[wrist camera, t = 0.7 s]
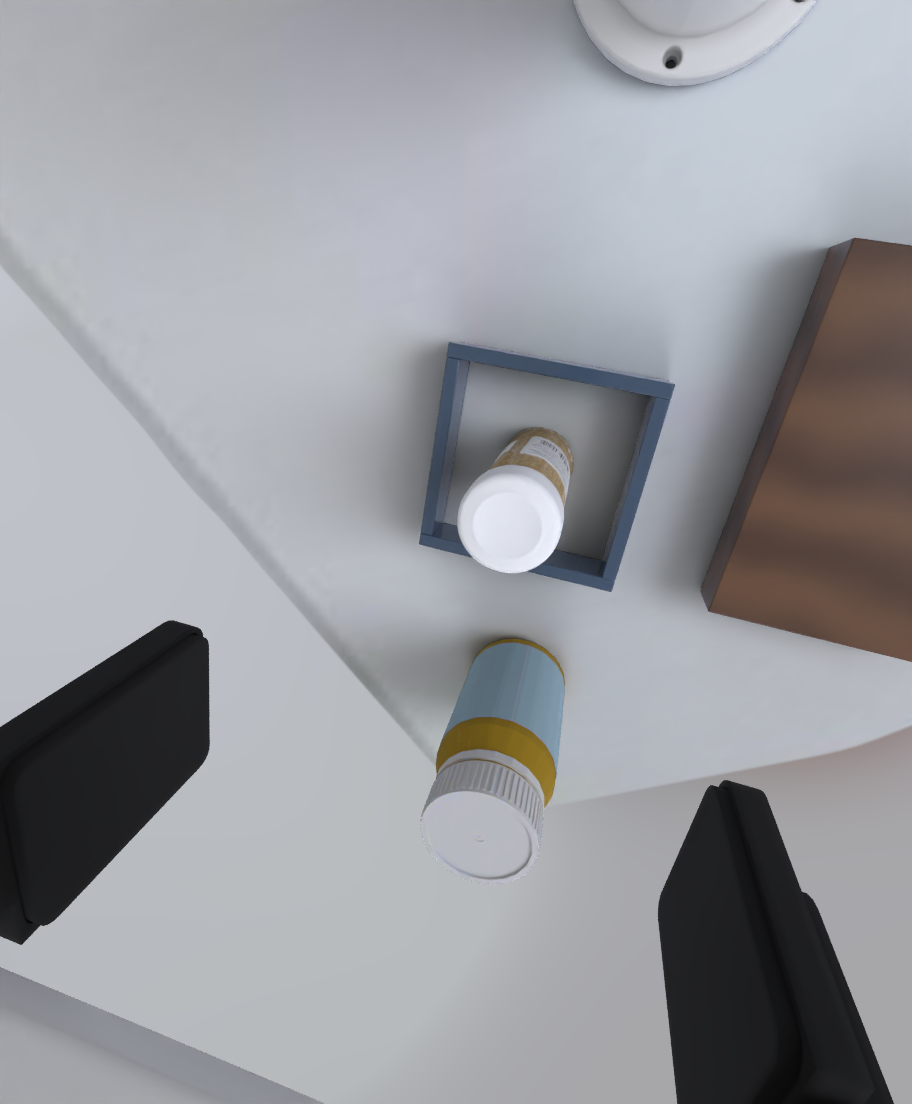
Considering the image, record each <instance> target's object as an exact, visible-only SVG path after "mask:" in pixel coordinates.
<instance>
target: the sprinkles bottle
mask: <svg viewBox="0 0 912 1104" xmlns="http://www.w3.org/2000/svg"><path fill="white" fill-rule="evenodd" d="M572 470H573V455H572V452H571V450H570V447H569V445H568V444H567V442H566V441H565V439H564V438H563V437H561V436H560V435H559V434H557V433H556V432H554V431H552V430H549V429H545V428H529V429H526V430H524V431H522V432H520V433H518V434H517V435H516V436H515V437H514V438H513V439H512V440H511V441H510V442H509V443H508V444H507V446H506V448H505V449H504V450H503V451H502V453H501V454H500V455H499V456H498V458H497V459H496V460H495V462H494V463H493V465H492V467H491V468H490V469H489V470H488V471H487V472H485V473H484V474H482V475H481V476H480V477H478V478H477V479H476V481H475V482H474V483H473V484H472V485H471V486H470V488H469V489H468V491H467V492H466V493H465V495H464V497H463V499H462V501H461V503H460V506H459V509H458V515H457V526H458V533H459V536H460V539H461V541H462V543H463V545H464V547H465V549H466V550H467V551H468V553H469V554H470V555H471V556H472V557H473V558H474V559H475V560H476V561H477V562H479V563H480V564H482V565H483V566H485V567H487V568H489V569H492V570H495V571H498V572H503V573H520V572H524V571H528V570H531V569H533V568H535V567H537V566H539V565H540V564H541V563H543V562H544V561H545V560H546V559H547V558H548V557H549V556H550V555H551V554H552V552H553V551H554V549H555V548H556V546H557V544H558V541H559V539H560V535H561V532H562V528H563V522H564V505H565V501H566V496H567V491H568V486H569V481H570V475H571V474H572Z"/></svg>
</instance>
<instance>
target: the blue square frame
mask: <svg viewBox="0 0 912 1104" xmlns="http://www.w3.org/2000/svg"><path fill="white" fill-rule="evenodd" d="M470 361H472V362H477V363H482V364H488V365H493V366H498V367H503V368H509V369H514V370H519V371H524V372H529V373H535V374H540V375H545V376H550V377H556V378H561V379H566V380H571V381H576V382H582V383H587V384H592V385H597V386H603V387H608V388H613V389H618V390H623V391H629V392H634V393H639V394H644V395H650V398H649V401H648V404H647V408H646V411H645V415H644V418H643V422H642V425H641V428H640V432H639V435H638V439H637V442H636V446H635V449H634V452H633V456H632V459H631V463H630V466H629V470H628V473H627V476H626V480H625V483H624V487H623V490H622V494H621V497H620V500H619V504H618V507H617V511H616V514H615V518H614V521H613V524H612V528H611V531H610V535H609V538H608V541H607V545H606V548H605V552H604V555H603V559H602V561H601V560H596V559H592V558H588V557H584V556H580V555H576V554H572V553H567V552H563V551H559V550H555V549H554V551H553V552H552V554H551V555H550V556H549V557H548V558H547V559H546V560H545V561H544V562H543V563H541V564H540V565H539V566H537V567H535V568H533V569H531V570H528V572H532V573H536V574H540V575H544V576H548V577H552V578H556V579H560V580H564V581H569V582H573V583H577V584H581V585H585V586H589V587H593V588H597V589H601V590H605V591H609V592H611V591H612V589H613V585H614V582H615V579H616V576H617V573H618V569H619V566H620V563H621V559H622V556H623V553H624V550H625V546H626V543H627V540H628V537H629V533H630V530H631V527H632V524H633V520H634V517H635V514H636V511H637V507H638V504H639V501H640V498H641V494H642V491H643V488H644V485H645V481H646V478H647V475H648V472H649V468H650V465H651V462H652V458H653V455H654V452H655V449H656V445H657V442H658V439H659V436H660V432H661V429H662V426H663V423H664V419H665V416H666V413H667V410H668V406H669V403H670V399H671V397H672V393H673V390H674V387H675V384H673V383H672V382H670V381H669V380H664V379H658V378H653V377H648V376H642V375H637V374H632V373H626V372H621V371H615V370H610V369H605V368H599V367H594V366H589V365H583V364H578V363H572V362H567V361H562V360H556V359H551V358H546V357H540V356H535V355H530V354H524V353H519V352H513V351H508V350H503V349H497V348H492V347H487V346H481V345H476V344H470V343H465V342H449V344H448V351H447V359H446V366H445V373H444V379H443V386H442V393H441V400H440V406H439V413H438V420H437V427H436V433H435V440H434V447H433V453H432V460H431V467H430V474H429V480H428V487H427V494H426V501H425V507H424V514H423V521H422V528H421V534H420V541H419V544H420V545H424V546H428V547H432V548H436V549H440V550H444V551H448V552H452V553H456V554H460V555H464V556H468V557H472V556H471V555H470V554H469V553H468V551H467V550H466V549H465V547H464V545H463V543H462V541H461V539H460V536H459V533H458V526H455V525H451V524H447V523H443V522H444V517H445V510H446V504H447V498H448V492H449V486H450V480H451V474H452V468H453V462H454V456H455V450H456V444H457V437H458V431H459V425H460V419H461V413H462V407H463V401H464V395H465V389H466V383H467V377H468V371H469V364H470ZM472 558H473V557H472Z"/></svg>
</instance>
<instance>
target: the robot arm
mask: <svg viewBox="0 0 912 1104" xmlns="http://www.w3.org/2000/svg"><path fill="white" fill-rule="evenodd" d="M816 2H817V0H801V2H800V3H797V2H795V1H793V0H574V4H575V7H576V11H577V14H578V16H579V18H580V20H581V22H582V24H583V26H584V28H585V30H586V32H587V34H588V36H589V38H590V39H591V40H592V42H593V43H594V44H595V45H596V47H597V48H598V49H599V50H600V51H601V53H602V54H603V55H604V56H605V58H606V59H608V60H609V61H610V62H612V63H613V64H614V65H616V66H617V67H618V68H620V69H621V70H622V71H624V72H625V73H627V74H629V75H631V76H634V77H636V78H638V79H641V80H643V81H645V82H649V83H655V84H661V85H667V86H683V85H698V84H701V83H705V82H708V81H712V80H715V79H719V78H722V77H725V76H727V75H729V74H731V73H733V72H735V71H737V70H739V69H741V68H743V67H745V66H747V65H749V64H751V63H753V62H754V61H755V60H757V59H758V58H760V57H761V56H762V55H764V54H765V53H767V52H768V51H769V50H771V49H772V48H773V47H775V46H776V45H778V44H779V43H780V42H781V41H782V40H783V39H784V38H785V37H786V36H787V35H788V34H789V33H790V32H791V31H792V30H793V29H794V28H795V27H796V26H797V25H798V24H799V23H800V22H801V21H802V20H803V19H804V17H805V16H806V15H807V13H808V12H809V11H810V10H811V8H812V7H813V6H814V4H815V3H816ZM668 60H674V61H675V63H676V66H675V67H674V68H672V69H668V68H666V66H665V63H666V62H667V61H668ZM209 739H210V738H209V644H208V640H207V639H206V638H204V637H203V633H202V631H201V629H199V628H197V627H194V626H191V625H187V624H184V623H180V622H177V621H167V622H165V623H163V624H161V625H160V626H158V627H156V628H155V629H153V630H152V631H150V632H149V633H147V634H146V635H144V636H142V637H141V638H139V639H138V640H136V641H135V642H133V643H131V644H130V645H128V646H127V647H125V648H124V649H122V650H121V651H119V652H117V653H116V654H114V655H113V656H111V657H109V658H108V659H106V660H105V661H103V662H102V663H100V664H98V665H97V666H95V667H94V668H92V669H91V670H89V671H87V672H86V673H84V674H83V675H81V676H80V677H78V678H76V679H75V680H73V681H72V682H70V683H69V684H67V685H65V686H64V687H62V688H61V689H59V690H58V691H56V692H54V693H53V694H51V695H50V696H48V697H47V698H45V699H44V700H42V701H40V702H39V703H37V704H36V705H34V706H32V707H31V708H29V709H28V710H26V711H25V712H23V713H22V714H20V715H18V716H17V717H15V718H14V719H12V720H11V721H9V722H7V723H6V724H4V725H3V726H1V727H0V936H1V937H3V938H6V939H8V940H11V941H13V942H16V943H18V944H20V945H22V944H23V943H24V942H25V941H26V940H27V939H28V938H29V937H30V936H31V935H32V934H33V932H34V931H35V930H36V929H37V928H38V927H39V926H40V925H42V926H44V925H48V924H50V923H51V922H53V921H54V920H55V919H56V918H57V917H58V916H59V915H60V914H61V913H62V912H63V911H64V910H65V909H66V908H67V907H68V906H69V905H70V904H71V903H72V902H73V901H74V900H75V898H76V897H77V896H78V895H79V894H80V893H81V892H82V891H83V890H84V889H85V888H86V887H87V886H88V885H89V884H90V883H91V882H92V881H93V880H94V878H95V877H96V876H97V875H98V874H99V873H100V872H101V871H102V870H103V869H104V868H105V867H106V866H107V865H108V863H110V862H111V861H112V859H113V858H114V857H115V856H116V855H117V854H118V853H119V852H120V851H121V850H122V849H123V848H124V847H125V846H126V845H127V844H128V842H129V841H130V840H131V839H132V838H133V837H134V836H135V835H136V834H137V833H138V832H139V831H140V830H141V829H142V828H143V827H144V826H145V824H146V823H147V822H148V821H149V820H150V819H151V818H152V817H153V816H154V815H155V814H156V813H157V812H158V811H159V810H160V809H161V808H162V807H163V806H164V805H165V803H166V802H167V801H168V800H169V799H170V798H171V797H172V796H173V795H174V794H175V793H176V792H177V791H178V790H179V789H180V788H181V786H183V784H184V783H185V782H186V781H187V780H188V779H189V778H190V777H191V776H192V775H193V774H194V773H195V772H196V771H197V770H198V769H199V767H200V766H201V765H202V764H203V762H204V761H205V759H206V757H207V755H208V751H209V746H210V745H209V744H210V740H209ZM658 922H659V931H660V941H661V951H662V961H663V970H664V980H665V989H666V998H667V1009H668V1018H669V1028H670V1036H671V1047H672V1056H673V1066H674V1076H675V1085H676V1094H677V1104H894V1103H893V1100H892V1097H891V1095H890V1092H889V1090H888V1087H887V1085H886V1082H885V1080H884V1077H883V1075H882V1072H881V1070H880V1067H879V1064H878V1062H877V1059H876V1056H875V1054H874V1051H873V1049H872V1046H871V1044H870V1041H869V1038H868V1036H867V1034H866V1031H865V1028H864V1026H863V1023H862V1020H861V1018H860V1016H859V1013H858V1010H857V1008H856V1005H855V1003H854V1000H853V998H852V995H851V992H850V990H849V987H848V985H847V982H846V979H845V977H844V975H843V972H842V969H841V967H840V964H839V962H838V959H837V957H836V954H835V951H834V949H833V946H832V944H831V941H830V938H829V936H828V933H827V931H826V928H825V926H824V923H823V920H822V918H821V915H820V913H819V910H818V908H817V907H816V905H815V903H814V901H813V899H812V898H811V897H810V896H809V895H808V894H807V893H804V892H802V891H801V888H800V886H799V883H798V881H797V878H796V875H795V872H794V870H793V867H792V864H791V862H790V859H789V856H788V854H787V851H786V848H785V845H784V843H783V840H782V837H781V835H780V832H779V830H778V827H777V824H776V821H775V819H774V816H773V813H772V811H771V808H770V805H769V803H768V800H767V797H766V795H765V794H764V792H763V791H761V790H759V789H756V788H752V787H749V786H745V785H742V784H738V783H735V782H731V781H728V780H724V781H723V782H722V783H721V784H720V785H719V787H716V786H713V785H711V786H709V787H708V789H707V790H706V792H705V794H704V797H703V799H702V801H701V804H700V806H699V808H698V810H697V813H696V815H695V817H694V820H693V822H692V824H691V826H690V829H689V831H688V833H687V836H686V838H685V840H684V842H683V845H682V847H681V849H680V851H679V854H678V856H677V858H676V861H675V863H674V865H673V867H672V870H671V872H670V875H669V877H668V879H667V881H666V883H665V886H664V888H663V890H662V893H661V895H660V900H659V906H658ZM0 1104H324V1103H322V1102H320V1101H317V1100H315V1099H313V1098H310V1097H308V1096H306V1095H303V1094H301V1093H298V1092H296V1091H294V1090H292V1089H289V1088H287V1087H284V1086H282V1085H280V1084H277V1083H275V1082H273V1081H270V1080H268V1079H265V1078H263V1077H261V1076H259V1075H256V1074H254V1073H252V1072H249V1071H247V1070H244V1069H242V1068H240V1067H237V1066H235V1065H233V1064H230V1063H228V1062H225V1061H223V1060H221V1059H218V1058H216V1057H214V1056H211V1055H209V1054H207V1053H204V1052H202V1051H199V1050H197V1049H195V1048H192V1047H190V1046H187V1045H185V1044H183V1043H180V1042H178V1041H176V1040H173V1039H171V1038H169V1037H166V1036H164V1035H161V1034H159V1033H157V1032H154V1031H152V1030H150V1029H147V1028H145V1027H142V1026H140V1025H138V1024H135V1023H133V1022H131V1021H128V1020H126V1019H123V1018H121V1017H119V1016H116V1015H114V1014H111V1013H109V1012H107V1011H104V1010H102V1009H99V1008H97V1007H95V1006H92V1005H90V1004H87V1003H85V1002H82V1001H80V1000H78V999H75V998H73V997H71V996H68V995H65V994H63V993H61V992H58V991H56V990H54V989H51V988H49V987H46V986H44V985H42V984H39V983H37V982H34V981H32V980H30V979H27V978H25V977H22V976H20V975H17V974H15V973H13V972H10V971H8V970H5V969H3V968H1V967H0Z"/></svg>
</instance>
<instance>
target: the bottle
mask: <svg viewBox="0 0 912 1104" xmlns="http://www.w3.org/2000/svg"><path fill="white" fill-rule="evenodd" d="M564 695H565V680H564V674H563V671H562V669H561V667H560V665H559V663H558V662H557V660H556V659H555V658H554V657H553V656H552V655H551V654H550V653H549V652H548V651H547V650H546V649H544V648H543V647H541V646H539V645H537V644H535V643H533V642H530V641H526V640H521V639H503V640H499V641H496V642H494V643H491V644H489V645H487V646H486V647H485V648H484V649H482V650H481V651H480V652H479V653H478V654H477V656H476V658H475V660H474V662H473V664H472V666H471V668H470V670H469V673H468V675H467V678H466V681H465V683H464V686H463V688H462V691H461V693H460V696H459V698H458V701H457V703H456V706H455V708H454V711H453V713H452V716H451V718H450V721H449V723H448V726H447V729H446V731H445V734H444V736H443V739H442V741H441V744H440V747H439V750H438V753H437V760H436V771H437V777H436V780H435V781H434V783H433V786H432V788H431V791H430V794H429V796H428V799H427V801H426V804H425V807H424V809H423V813H422V816H421V817H422V818H421V834H422V838H423V841H424V843H425V845H426V847H427V849H428V850H429V852H430V853H431V855H432V856H433V857H434V858H435V859H436V860H437V861H438V862H439V863H440V864H441V865H442V866H443V867H445V868H446V869H448V870H449V871H451V872H452V873H454V874H456V875H458V876H460V877H462V878H465V879H467V880H470V881H474V882H478V883H484V884H503V883H508V882H512V881H515V880H517V879H519V878H521V877H523V876H524V875H525V874H527V873H528V872H529V871H530V870H531V868H532V867H533V866H534V864H535V862H536V860H537V857H538V855H539V851H540V843H541V834H542V827H543V815H544V808H545V806H546V805H547V803H548V802H549V800H550V799H551V797H552V795H553V790H554V786H555V779H556V773H557V763H558V753H559V743H560V734H561V724H562V714H563V705H564Z"/></svg>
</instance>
